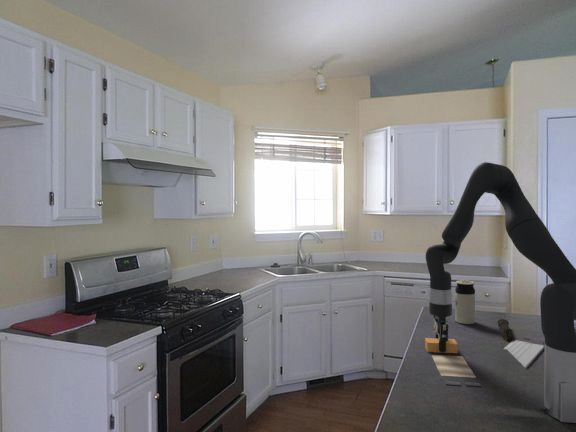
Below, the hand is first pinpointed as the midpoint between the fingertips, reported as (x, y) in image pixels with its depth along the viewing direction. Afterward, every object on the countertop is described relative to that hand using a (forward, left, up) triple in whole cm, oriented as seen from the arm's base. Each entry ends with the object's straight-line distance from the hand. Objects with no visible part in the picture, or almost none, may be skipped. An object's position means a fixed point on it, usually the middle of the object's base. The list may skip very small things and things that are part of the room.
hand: (440, 348), depth 146 cm
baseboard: (+2, -25, -3) cm, 25 cm away
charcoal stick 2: (-27, -4, -1) cm, 27 cm away
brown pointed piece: (+26, -30, -2) cm, 40 cm away
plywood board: (-14, -1, -2) cm, 14 cm away
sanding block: (0, 0, -2) cm, 2 cm away
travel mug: (+42, -18, -2) cm, 45 cm away
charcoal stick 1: (-27, +2, -1) cm, 27 cm away
